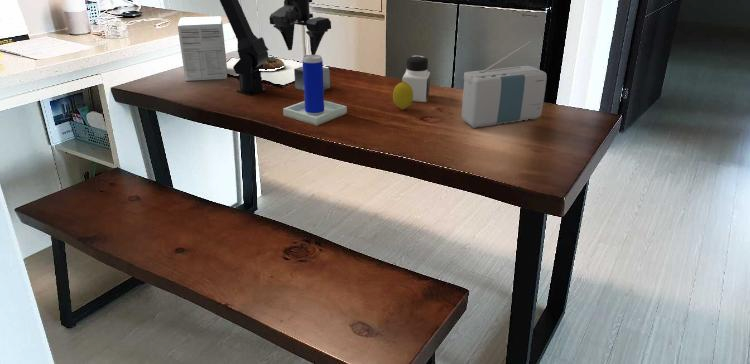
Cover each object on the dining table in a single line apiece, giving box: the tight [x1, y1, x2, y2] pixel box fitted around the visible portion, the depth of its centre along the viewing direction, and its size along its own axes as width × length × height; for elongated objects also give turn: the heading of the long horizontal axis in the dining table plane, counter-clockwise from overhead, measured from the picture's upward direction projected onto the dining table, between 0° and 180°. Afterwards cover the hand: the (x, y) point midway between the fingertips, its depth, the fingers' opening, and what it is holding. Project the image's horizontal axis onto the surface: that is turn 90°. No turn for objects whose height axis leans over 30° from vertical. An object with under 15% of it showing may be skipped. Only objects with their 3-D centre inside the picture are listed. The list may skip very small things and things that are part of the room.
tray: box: [282, 99, 348, 127], centre depth 151 cm, size 12×12×2 cm
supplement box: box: [177, 15, 228, 82], centre depth 181 cm, size 13×13×18 cm
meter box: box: [293, 65, 331, 91], centre depth 172 cm, size 8×7×6 cm
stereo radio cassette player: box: [461, 40, 547, 129], centre depth 144 cm, size 21×8×20 cm, turn 112°
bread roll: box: [261, 56, 285, 70], centre depth 192 cm, size 11×11×5 cm
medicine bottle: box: [402, 55, 431, 103], centre depth 162 cm, size 7×7×12 cm
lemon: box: [392, 80, 413, 110], centre depth 154 cm, size 6×6×8 cm
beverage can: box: [301, 54, 325, 115], centre depth 148 cm, size 5×5×15 cm
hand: (301, 52), depth 159 cm, fingers open, 9 cm apart
